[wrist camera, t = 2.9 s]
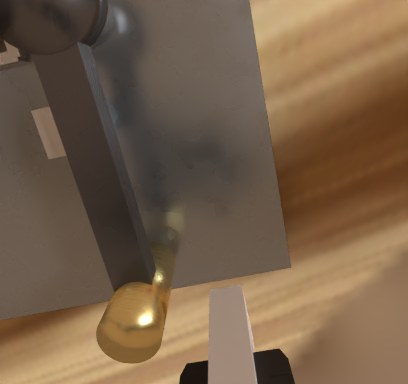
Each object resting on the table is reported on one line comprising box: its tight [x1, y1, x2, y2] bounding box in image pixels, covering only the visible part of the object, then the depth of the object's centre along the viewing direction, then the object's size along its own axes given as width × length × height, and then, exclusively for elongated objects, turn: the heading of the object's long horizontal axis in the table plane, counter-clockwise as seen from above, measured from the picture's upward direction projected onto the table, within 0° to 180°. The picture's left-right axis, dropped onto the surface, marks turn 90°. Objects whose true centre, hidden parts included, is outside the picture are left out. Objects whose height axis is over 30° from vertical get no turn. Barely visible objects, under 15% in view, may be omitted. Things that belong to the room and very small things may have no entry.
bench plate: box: [0, 0, 291, 320], centre depth 19 cm, size 24×26×6 cm
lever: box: [0, 0, 176, 363], centre depth 16 cm, size 5×19×7 cm, turn 12°
